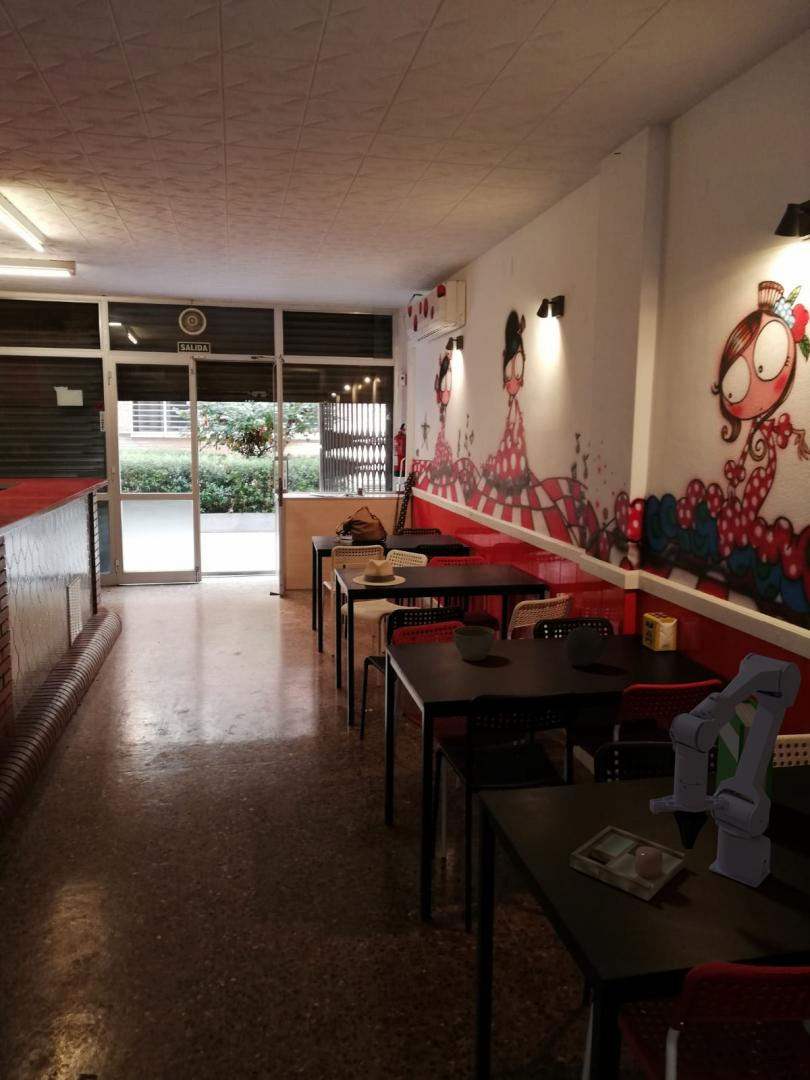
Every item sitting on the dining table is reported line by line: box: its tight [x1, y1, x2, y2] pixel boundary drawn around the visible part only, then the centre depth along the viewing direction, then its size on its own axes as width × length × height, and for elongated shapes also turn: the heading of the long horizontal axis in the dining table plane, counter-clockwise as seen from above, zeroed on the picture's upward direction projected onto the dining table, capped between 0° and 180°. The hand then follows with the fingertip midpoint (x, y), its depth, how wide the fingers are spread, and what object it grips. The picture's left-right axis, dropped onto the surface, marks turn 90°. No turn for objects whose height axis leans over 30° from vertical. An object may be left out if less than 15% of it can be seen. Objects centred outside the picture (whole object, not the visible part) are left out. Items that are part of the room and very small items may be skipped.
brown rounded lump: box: [635, 846, 663, 879], centre depth 153 cm, size 5×5×4 cm
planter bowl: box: [452, 625, 496, 662], centre depth 304 cm, size 16×16×11 cm
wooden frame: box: [569, 825, 686, 902], centre depth 158 cm, size 17×16×3 cm
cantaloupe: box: [563, 626, 605, 668], centre depth 293 cm, size 14×14×15 cm
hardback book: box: [715, 698, 775, 830], centre depth 181 cm, size 18×7×24 cm, turn 171°
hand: (687, 846), depth 147 cm, fingers closed
